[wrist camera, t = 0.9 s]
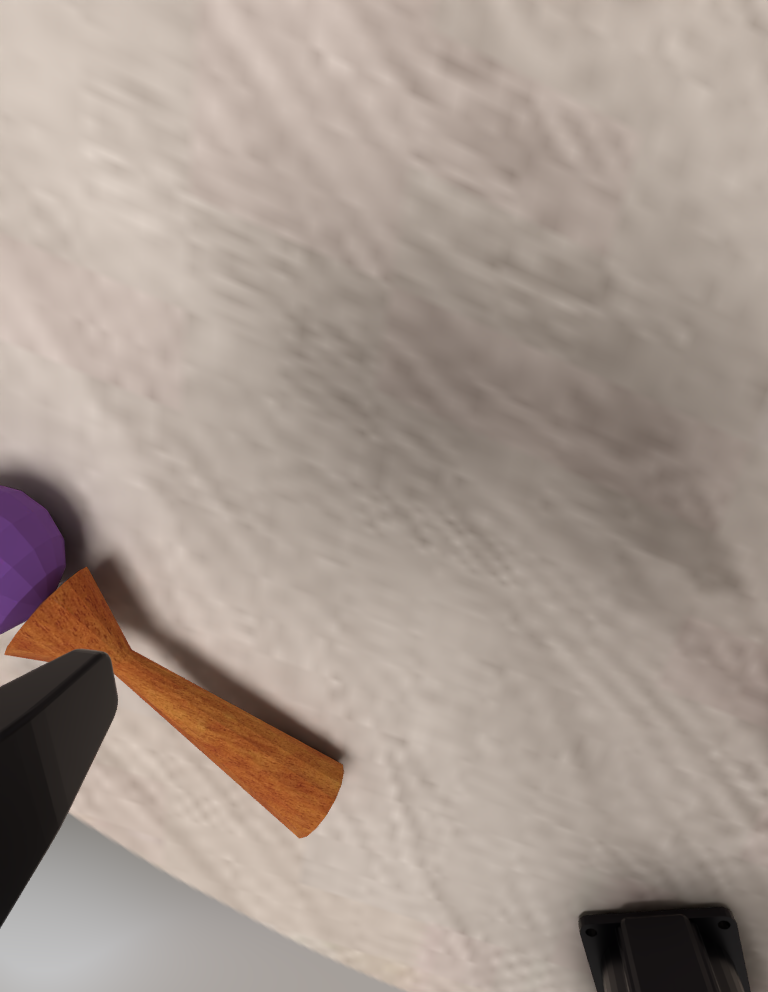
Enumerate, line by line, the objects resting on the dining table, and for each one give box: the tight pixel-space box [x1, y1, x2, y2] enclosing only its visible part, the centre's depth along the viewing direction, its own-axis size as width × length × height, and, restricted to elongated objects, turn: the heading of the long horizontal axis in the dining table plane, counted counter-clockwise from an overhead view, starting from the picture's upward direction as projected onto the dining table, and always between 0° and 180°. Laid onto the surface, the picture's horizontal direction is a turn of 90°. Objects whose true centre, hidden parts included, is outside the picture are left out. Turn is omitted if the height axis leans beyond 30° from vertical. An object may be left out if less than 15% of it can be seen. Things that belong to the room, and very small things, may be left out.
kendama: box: [0, 485, 344, 838], centre depth 23 cm, size 6×6×20 cm
